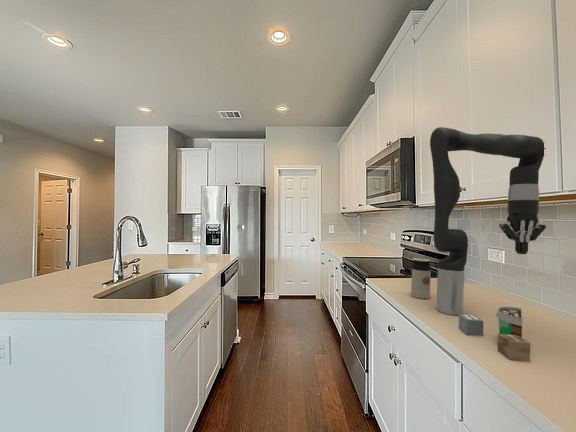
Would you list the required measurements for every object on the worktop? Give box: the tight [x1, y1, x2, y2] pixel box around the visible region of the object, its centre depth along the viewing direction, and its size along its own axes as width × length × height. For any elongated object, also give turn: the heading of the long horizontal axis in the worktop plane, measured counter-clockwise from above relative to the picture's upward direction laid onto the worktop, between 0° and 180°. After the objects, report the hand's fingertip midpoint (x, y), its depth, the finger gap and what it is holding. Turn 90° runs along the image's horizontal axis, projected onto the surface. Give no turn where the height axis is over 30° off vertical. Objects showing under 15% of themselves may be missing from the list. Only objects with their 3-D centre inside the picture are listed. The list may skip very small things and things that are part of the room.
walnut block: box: [497, 333, 531, 362], centre depth 77 cm, size 5×5×5 cm
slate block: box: [458, 314, 484, 337], centre depth 92 cm, size 5×5×5 cm
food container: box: [495, 306, 523, 338], centre depth 85 cm, size 12×6×10 cm, turn 141°
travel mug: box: [410, 257, 432, 300], centre depth 131 cm, size 8×8×18 cm
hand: (521, 253), depth 88 cm, fingers closed
